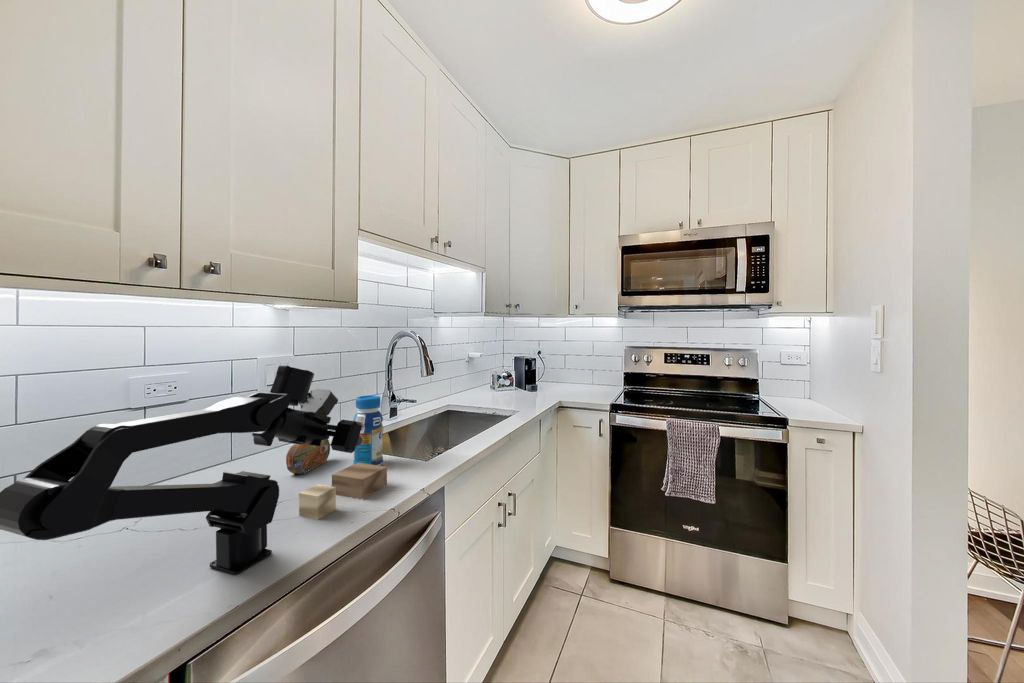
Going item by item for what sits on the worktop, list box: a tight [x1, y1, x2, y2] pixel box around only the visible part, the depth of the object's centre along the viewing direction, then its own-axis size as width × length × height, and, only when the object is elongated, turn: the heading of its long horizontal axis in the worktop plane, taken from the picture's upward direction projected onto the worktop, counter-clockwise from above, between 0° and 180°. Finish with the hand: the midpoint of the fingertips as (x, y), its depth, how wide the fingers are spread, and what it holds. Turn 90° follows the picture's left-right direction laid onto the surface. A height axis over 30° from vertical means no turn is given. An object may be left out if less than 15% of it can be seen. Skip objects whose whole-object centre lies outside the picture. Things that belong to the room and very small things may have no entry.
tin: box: [285, 439, 331, 475], centre depth 110 cm, size 15×3×8 cm, turn 168°
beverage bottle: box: [352, 394, 384, 466], centre depth 113 cm, size 8×8×20 cm
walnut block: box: [331, 463, 388, 500], centre depth 96 cm, size 9×9×5 cm
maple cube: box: [298, 484, 337, 520], centre depth 83 cm, size 5×5×5 cm
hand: (344, 438), depth 89 cm, fingers open, 9 cm apart
